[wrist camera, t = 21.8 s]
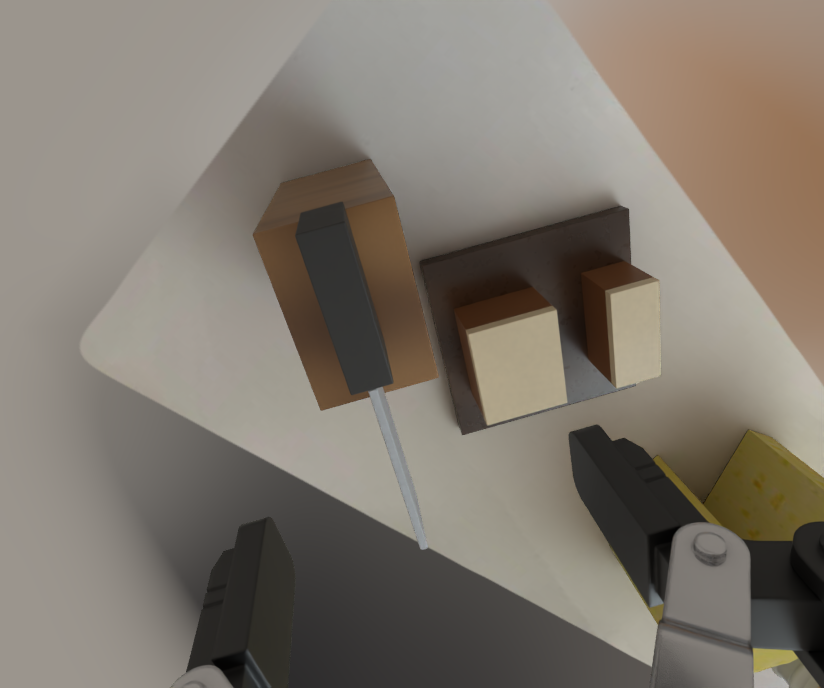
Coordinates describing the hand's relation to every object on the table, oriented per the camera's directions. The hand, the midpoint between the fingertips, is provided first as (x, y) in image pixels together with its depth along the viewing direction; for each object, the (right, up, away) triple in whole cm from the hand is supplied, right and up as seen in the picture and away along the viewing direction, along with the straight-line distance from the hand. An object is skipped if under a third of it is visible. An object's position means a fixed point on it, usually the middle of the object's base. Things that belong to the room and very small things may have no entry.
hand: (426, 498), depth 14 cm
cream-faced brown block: (+9, +4, +39) cm, 40 cm away
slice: (+19, +7, +39) cm, 44 cm away
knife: (-3, +2, +19) cm, 20 cm away
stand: (-6, +14, +33) cm, 37 cm away
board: (+12, +6, +40) cm, 42 cm away
